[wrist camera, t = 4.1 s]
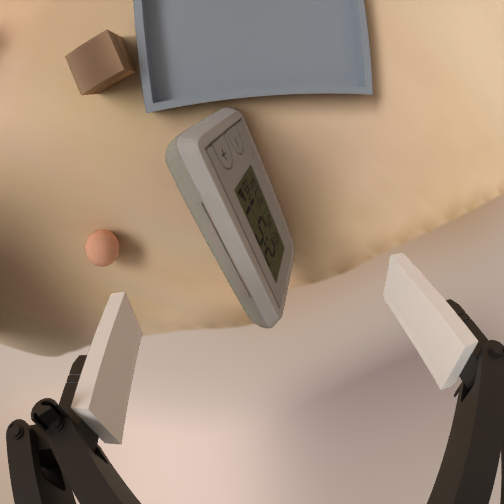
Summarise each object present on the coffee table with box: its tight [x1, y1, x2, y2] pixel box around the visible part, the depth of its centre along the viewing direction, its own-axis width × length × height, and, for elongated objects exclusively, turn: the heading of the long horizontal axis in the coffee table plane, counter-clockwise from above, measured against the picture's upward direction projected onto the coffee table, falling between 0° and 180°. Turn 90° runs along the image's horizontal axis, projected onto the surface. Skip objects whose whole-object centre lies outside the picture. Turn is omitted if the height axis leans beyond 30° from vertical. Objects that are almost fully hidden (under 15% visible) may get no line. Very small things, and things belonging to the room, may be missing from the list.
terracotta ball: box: [85, 230, 120, 266], centre depth 28 cm, size 4×4×4 cm
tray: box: [133, 0, 373, 113], centre depth 20 cm, size 13×19×2 cm
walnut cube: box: [65, 30, 136, 95], centre depth 19 cm, size 4×4×4 cm
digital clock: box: [165, 107, 295, 328], centre depth 24 cm, size 16×9×11 cm, turn 10°
